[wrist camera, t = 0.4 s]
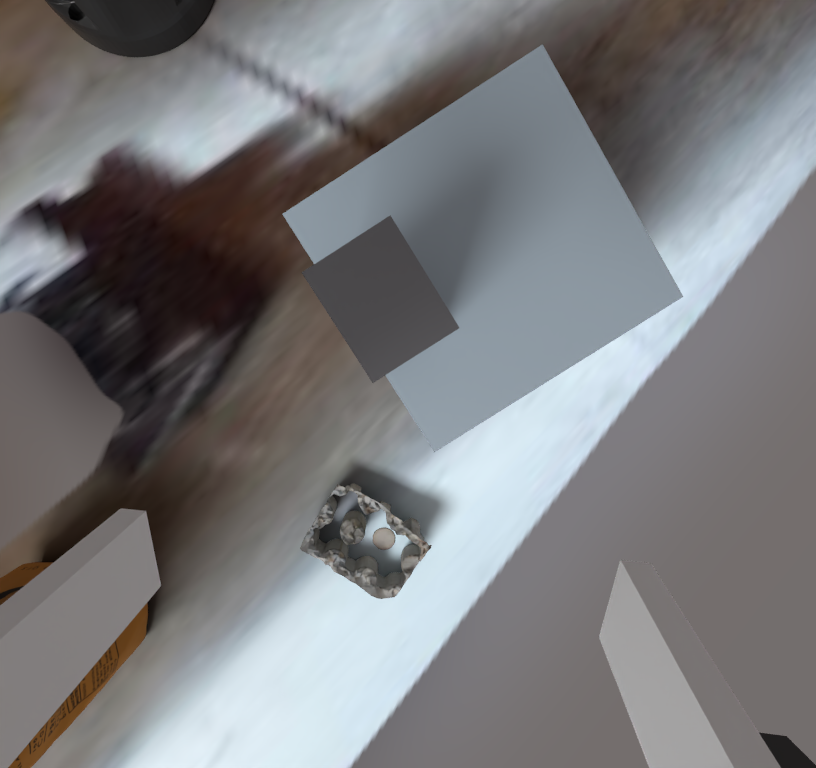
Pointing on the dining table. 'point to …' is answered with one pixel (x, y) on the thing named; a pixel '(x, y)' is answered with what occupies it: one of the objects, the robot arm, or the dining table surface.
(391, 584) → the grey piece
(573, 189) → the lid
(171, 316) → the dining table surface
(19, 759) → the coffee package
